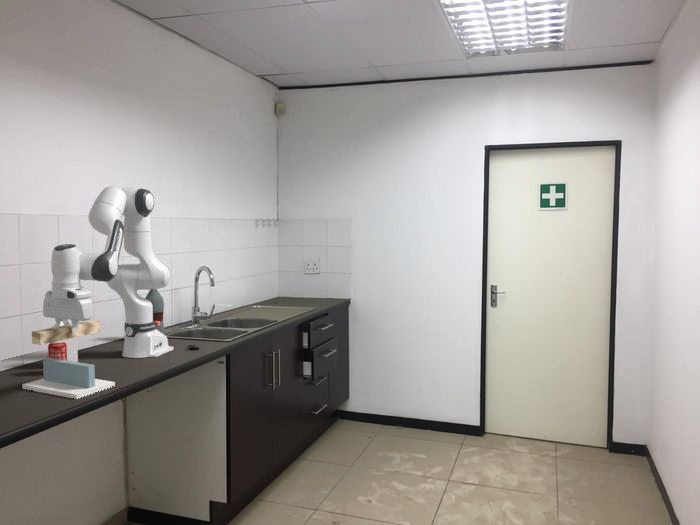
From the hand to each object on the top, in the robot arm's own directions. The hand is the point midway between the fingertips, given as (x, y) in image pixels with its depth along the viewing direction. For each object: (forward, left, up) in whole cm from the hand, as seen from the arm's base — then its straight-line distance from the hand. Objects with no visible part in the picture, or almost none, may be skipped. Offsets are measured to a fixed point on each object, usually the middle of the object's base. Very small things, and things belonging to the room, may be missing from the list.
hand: (67, 331), depth 202 cm
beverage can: (-12, -20, -20) cm, 31 cm away
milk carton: (-21, -27, -20) cm, 40 cm away
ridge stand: (0, 0, -20) cm, 20 cm away
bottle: (-72, -28, -20) cm, 80 cm away
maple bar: (0, 0, -2) cm, 2 cm away
